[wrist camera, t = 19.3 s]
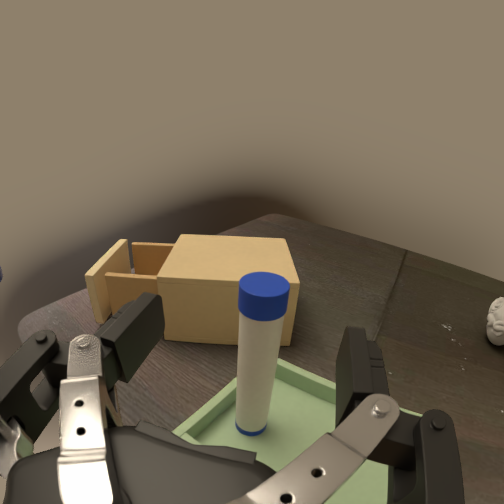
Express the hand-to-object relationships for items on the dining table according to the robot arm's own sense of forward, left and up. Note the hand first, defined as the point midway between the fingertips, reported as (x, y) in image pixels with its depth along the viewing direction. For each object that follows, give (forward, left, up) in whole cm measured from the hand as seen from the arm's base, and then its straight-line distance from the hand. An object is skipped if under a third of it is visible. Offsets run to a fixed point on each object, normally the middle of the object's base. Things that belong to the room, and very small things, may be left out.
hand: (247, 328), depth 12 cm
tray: (+6, -2, -15) cm, 16 cm away
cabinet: (+8, +20, -15) cm, 26 cm away
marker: (+3, +3, -14) cm, 15 cm away
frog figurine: (+39, -6, -15) cm, 42 cm away
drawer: (-1, +25, -14) cm, 28 cm away
